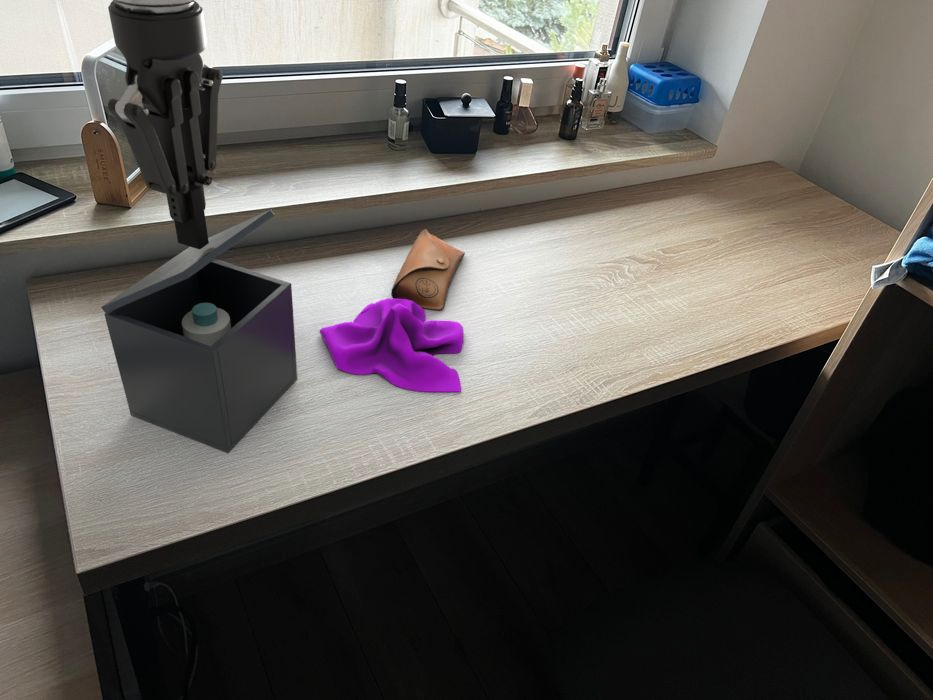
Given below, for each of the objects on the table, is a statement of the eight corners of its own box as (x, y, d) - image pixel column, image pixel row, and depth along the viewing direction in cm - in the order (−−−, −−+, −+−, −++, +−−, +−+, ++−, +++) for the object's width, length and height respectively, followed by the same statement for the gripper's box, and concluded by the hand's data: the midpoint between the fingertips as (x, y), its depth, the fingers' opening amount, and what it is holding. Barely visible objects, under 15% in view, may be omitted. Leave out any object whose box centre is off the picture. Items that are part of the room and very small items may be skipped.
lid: (275, 215, 79) (271, 208, 79) (188, 278, 68) (183, 271, 68) (194, 251, 87) (190, 245, 87) (105, 313, 76) (100, 307, 76)
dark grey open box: (297, 379, 93) (291, 283, 84) (228, 453, 82) (212, 352, 73) (208, 347, 96) (193, 251, 87) (130, 415, 85) (103, 313, 76)
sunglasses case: (446, 309, 107) (426, 273, 104) (405, 322, 110) (384, 286, 107) (466, 250, 122) (449, 217, 118) (430, 263, 124) (412, 230, 121)
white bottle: (221, 411, 86) (209, 328, 78) (185, 397, 87) (169, 314, 80) (247, 386, 90) (237, 303, 82) (212, 373, 91) (199, 291, 84)
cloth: (297, 350, 98) (294, 313, 94) (377, 290, 111) (378, 255, 107) (436, 417, 90) (440, 380, 86) (505, 344, 103) (510, 309, 99)
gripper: (137, 26, 55) (182, 282, 70) (238, -5, 65) (260, 225, 80) (59, 7, 57) (119, 262, 72) (169, -20, 67) (202, 208, 82)
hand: (193, 242), depth 76 cm, fingers closed
